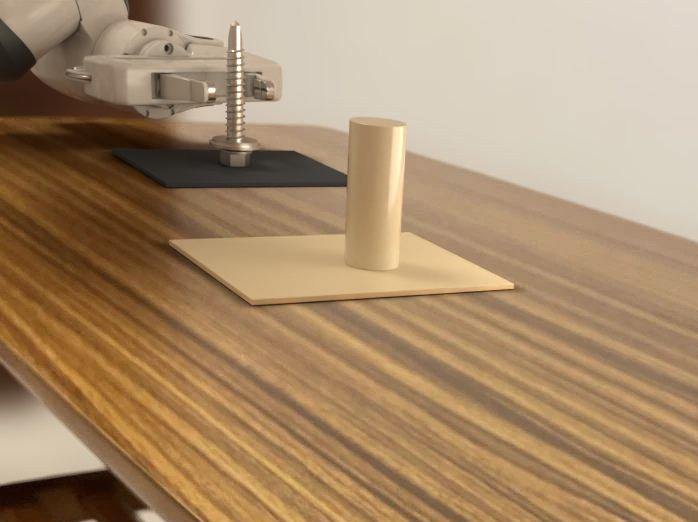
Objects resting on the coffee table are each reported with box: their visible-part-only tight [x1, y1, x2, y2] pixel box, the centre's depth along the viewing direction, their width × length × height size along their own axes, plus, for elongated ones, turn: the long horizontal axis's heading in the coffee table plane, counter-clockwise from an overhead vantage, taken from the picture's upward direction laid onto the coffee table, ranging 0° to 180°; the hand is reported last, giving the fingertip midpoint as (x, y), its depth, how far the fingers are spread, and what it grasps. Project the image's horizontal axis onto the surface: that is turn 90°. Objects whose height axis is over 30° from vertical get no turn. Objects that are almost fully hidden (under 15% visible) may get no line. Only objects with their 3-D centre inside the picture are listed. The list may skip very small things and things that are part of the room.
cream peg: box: [344, 116, 408, 271], centre depth 88 cm, size 4×4×10 cm
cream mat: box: [168, 231, 515, 306], centre depth 90 cm, size 20×16×1 cm
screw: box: [208, 20, 262, 167], centre depth 116 cm, size 13×5×5 cm
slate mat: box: [111, 148, 347, 188], centre depth 119 cm, size 19×16×1 cm
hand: (242, 92), depth 116 cm, fingers open, 6 cm apart
